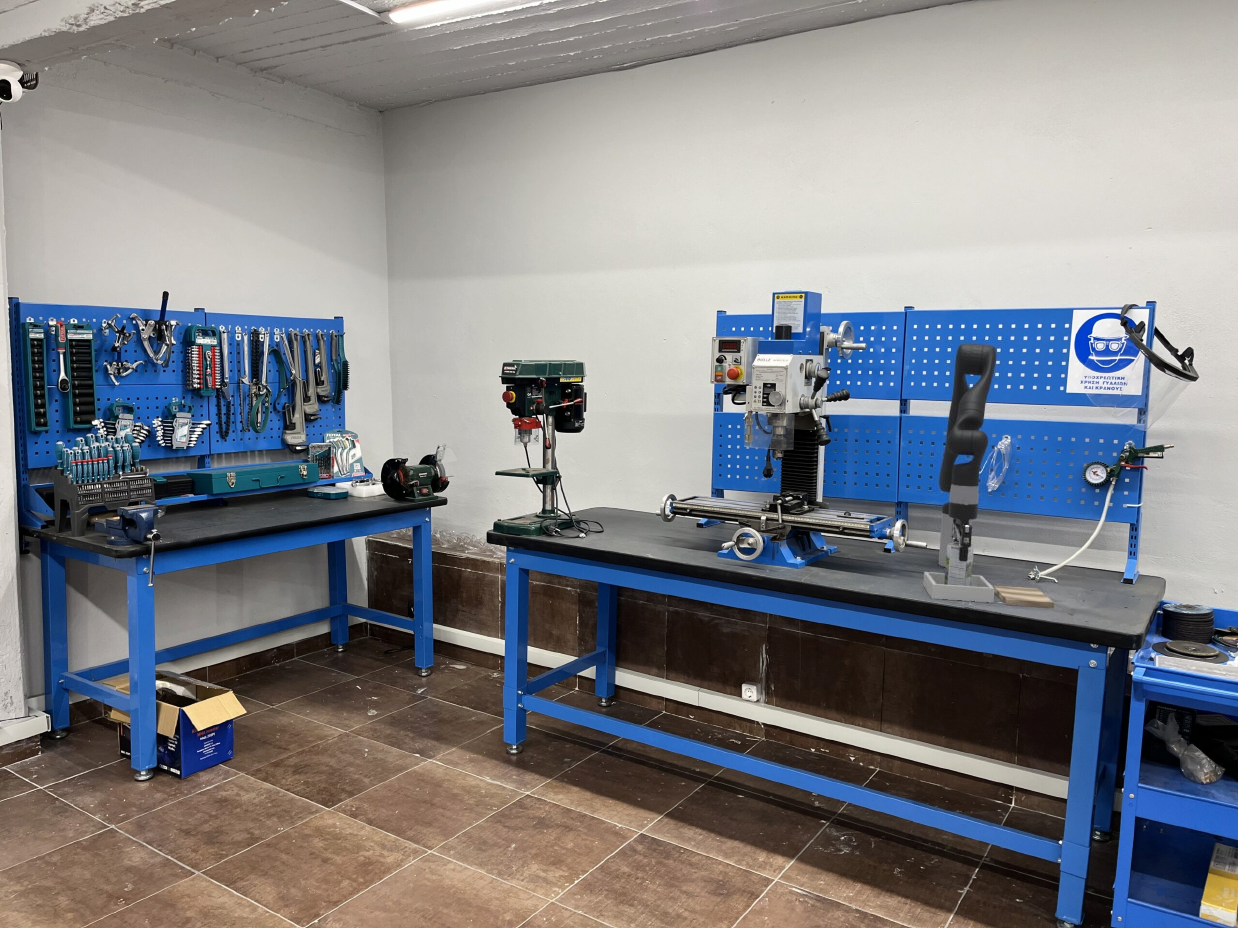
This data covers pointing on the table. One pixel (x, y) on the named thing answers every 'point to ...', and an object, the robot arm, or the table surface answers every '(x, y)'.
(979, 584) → the parts tray
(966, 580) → the syrup box
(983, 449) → the robot arm
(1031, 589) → the board
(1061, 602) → the table surface
